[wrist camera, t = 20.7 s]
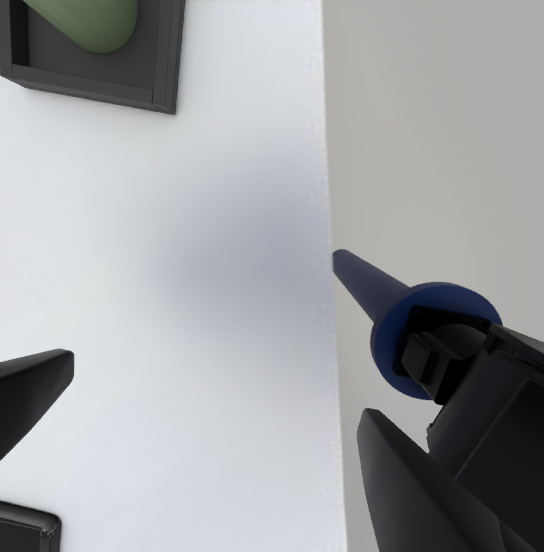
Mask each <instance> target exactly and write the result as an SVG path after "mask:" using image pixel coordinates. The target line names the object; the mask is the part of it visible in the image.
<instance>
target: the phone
mask: <svg viewBox="0 0 544 552" xmlns="http://www.w3.org/2000/svg"><path fill="white" fill-rule="evenodd" d="M59 538H60V522H59V520H58V519H57V518H55V517H54V516H52V515H48V514H44V513H40V512H36V511H32V510H28V509H24V508H20V507H16V506H12V505H8V504H4V503H0V552H58V551H59Z"/></svg>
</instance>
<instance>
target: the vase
mask: <svg viewBox="0 0 544 552" xmlns="http://www.w3.org/2000/svg"><path fill="white" fill-rule="evenodd" d="M23 1H24V2H25V3H27V4H28V5H29V6H30V7H32V8H33V9H34V10H35V11H37V12H38V13H39V14H40V15H42V16H43V17H44V18H45V19H46V20H48V21H49V22H50V23H51V24H53V25H54V26H55V27H56V28H58V29H59V30H60V31H61V32H63V33H64V34H65V35H66V36H67V37H69V38H70V39H71V40H72V41H74V42H75V43H76V44H78V45H79V46H80V47H82V48H84V49H85V50H88V51H90V52H94V53H101V54H103V53H110V52H113V51H116V50H118V49H119V48H121V47H122V46H123V45H124V44H125V43H126V42H127V41H128V40H129V38H130V37H131V35H132V33H133V31H134V29H135V26H136V22H137V16H138V4H137V0H23Z"/></svg>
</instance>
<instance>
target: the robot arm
mask: <svg viewBox="0 0 544 552" xmlns="http://www.w3.org/2000/svg"><path fill="white" fill-rule="evenodd" d="M418 309H419V312H418V313H415V312H416V310H418ZM483 322H485V323H484V325H482V323H483ZM481 325H482V326H481ZM490 326H491V327H490ZM489 331H490V332H489ZM488 332H489V334H488ZM487 334H488V335H487ZM395 355H396V357H395V360H394V363H393V366H392V370H393V372H394V373H395V374H396V375H398V376H402V377H408V378H413V379H414V380H415V382H416V383H418V384H421V386H422V387H423V388H424V389H425V391H426V392H427V393H428V394H429V396H430V397H431V398H432V400H433V401H434V402H435V403H436V404H438V405H443V407H442V409H441V410H440V412H439V414H438V415H437V417H436V419H435V420H434V422H433V423H430V425H429V426H428V428H427V434H428V436H427V443H428V448H429V450H430V451H429V453H428V454H427V453H426V452H425V451H424V450H423V449H422V448H421V447H419V446H418V445H417V444H416V443H415V442H414V441H412V439H411V438H409V437H408V436H407V435H406V434H405V433H404V432H402V430H401V429H399V428H398V427H397V426H396V425H395V424H394V423H393V422H391V421H390V420H389V419H388V418H387V417H386V416H385V415H383V413H381V412H380V411H379V410H375V409H370V408H366V409H364V411H363V413H362V416H361V420H360V423H359V426H358V430H357V443H358V449H359V455H360V463H361V470H362V476H363V483H364V489H365V494H366V499H367V504H368V508H369V512H370V516H371V520H372V524H373V528H374V532H375V536H376V540H377V544H378V548H379V552H544V342H541V341H539V340H536V339H533V338H531V337H528V336H526V335H523V334H521V333H518V332H516V331H513V330H510V329H508V328H505V327H503V326H500V325H498V324H495V323H493V324H492V325H491V321H490V320H488V319H486V318H484V317H480V316H474V315H469V314H464V313H458V312H453V311H448V310H442V309H437V308H432V307H427V306H421V305H414V306H413V307H411V309H410V312H409V316H408V319H407V322H406V325H405V327H404V328H403V329H402V332H401V335H400V338H399V341H398V344H397V347H396V351H395ZM398 368H401V369H400V370H399V371H397V369H398ZM73 377H74V353H73V352H72V351H69V350H64V349H55V350H50V351H46V352H42V353H38V354H33V355H29V356H25V357H21V358H16V359H12V360H8V361H4V362H0V461H1V460H2V459H3V458H4V457H5V456H6V455H7V454H8V453H9V452H10V451H11V450H12V449H13V448H14V447H15V446H16V445H17V444H18V443H19V442H20V441H21V439H22V438H23V437H24V436H25V435H26V434H27V433H28V432H29V431H30V430H31V429H32V428H33V427H34V426H35V425H36V423H37V422H38V421H39V420H40V419H41V418H42V416H43V415H44V414H45V413H46V412H47V411H48V409H49V408H50V407H51V406H52V405H53V403H54V402H55V401H56V400H57V399H58V398H59V396H60V395H61V394H62V393H63V392H64V390H65V389H66V388H67V387H68V386H69V385H70V383H71V382H72V380H73Z"/></svg>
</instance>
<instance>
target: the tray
mask: <svg viewBox="0 0 544 552" xmlns="http://www.w3.org/2000/svg"><path fill="white" fill-rule="evenodd" d="M137 4H138V16H137V22H136V26H135V29H134V31H133V33H132V35H131V37H130V38H129V40H128V41H127V42H126V43H125V44H124V45H123V46H122V47H121V48H119V49H118V50H116V51H113V52H110V53H103V54H101V53H94V52H90V51H88V50H85V49H84V48H82V47H80V46H79V45H78V44H76V43H75V42H74V41H72V40H71V39H70V38H69V37H67V36H66V35H65V34H64V33H63V32H61V31H60V30H59V29H58V28H56V27H55V26H54V25H53V24H51V23H50V22H49V21H48V20H46V19H45V18H44V17H43V16H42V15H40V14H39V13H38V12H37V11H35V10H34V9H33V8H32V7H30V6H29V5H28V4H27V3H25V2H24V1H23V0H0V75H1V76H2V77H4V78H6V79H8V80H10V81H13V82H15V83H17V84H19V85H21V86H23V87H25V88H30V89H36V90H41V91H47V92H52V93H58V94H63V95H69V96H74V97H80V98H85V99H91V100H96V101H102V102H107V103H113V104H118V105H124V106H129V107H135V108H140V109H146V110H151V111H157V112H162V113H168V114H173V115H175V108H176V97H177V85H178V74H179V62H180V51H181V39H182V28H183V16H184V5H185V0H137Z"/></svg>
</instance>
